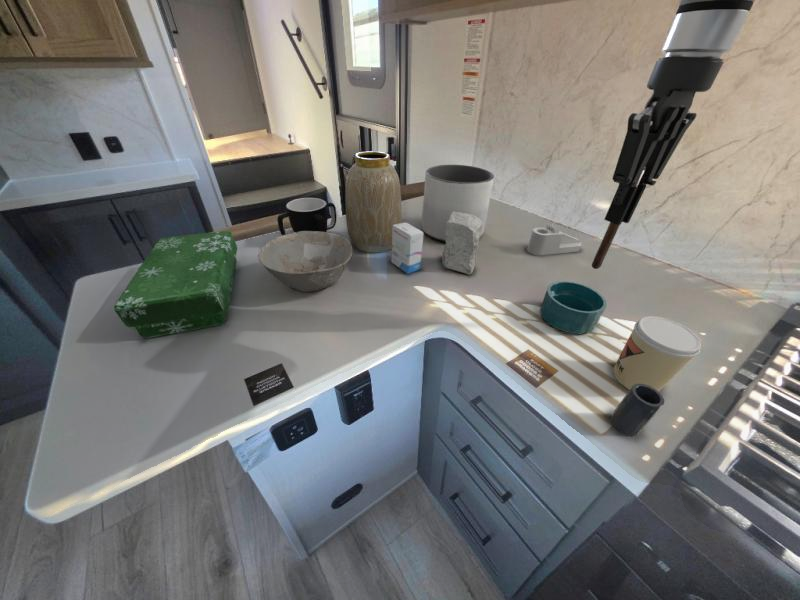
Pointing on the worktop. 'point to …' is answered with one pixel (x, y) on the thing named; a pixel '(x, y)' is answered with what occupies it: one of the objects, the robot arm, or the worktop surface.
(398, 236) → the ink box
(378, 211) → the vase
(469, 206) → the planter
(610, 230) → the stick
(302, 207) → the mug
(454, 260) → the decorative stone
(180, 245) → the box
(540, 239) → the grey mounting bracket
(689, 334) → the coffee cup
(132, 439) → the worktop surface
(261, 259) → the ceramic bowl
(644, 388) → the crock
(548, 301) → the teal bowl
